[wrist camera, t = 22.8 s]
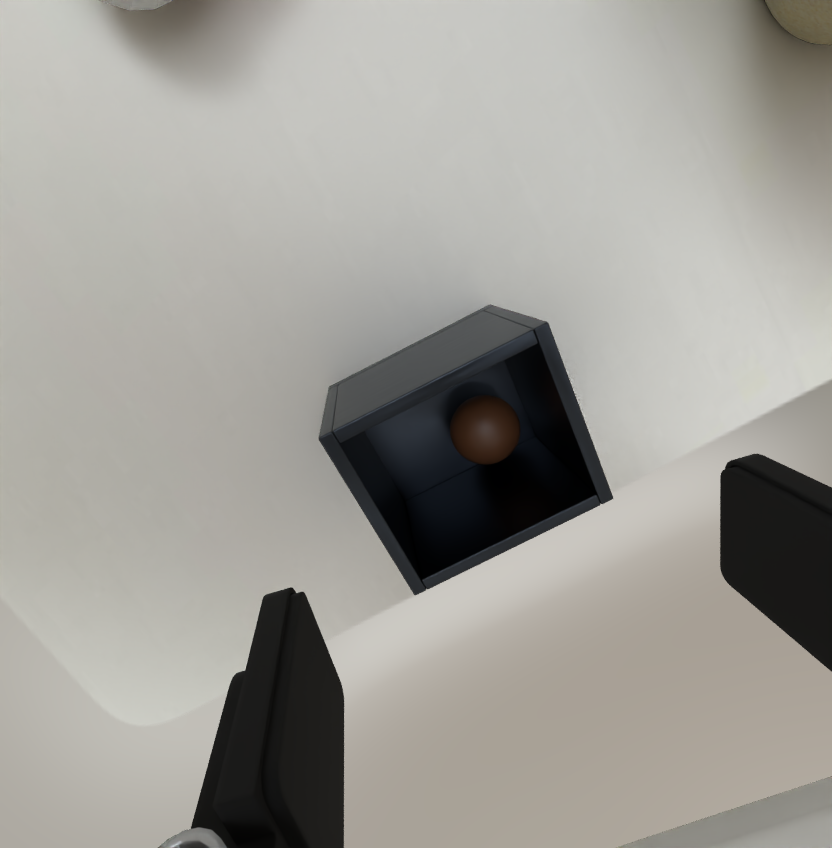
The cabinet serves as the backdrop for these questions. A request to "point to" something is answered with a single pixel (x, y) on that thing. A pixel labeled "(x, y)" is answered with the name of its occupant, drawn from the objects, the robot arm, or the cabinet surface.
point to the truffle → (485, 429)
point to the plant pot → (804, 18)
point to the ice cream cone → (137, 4)
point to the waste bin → (440, 461)
